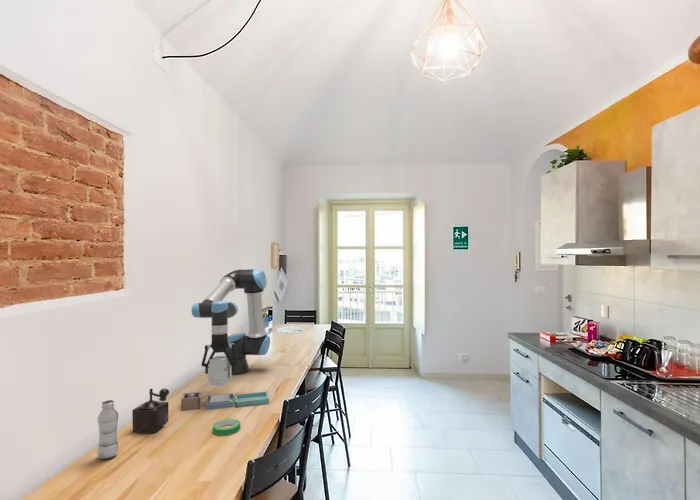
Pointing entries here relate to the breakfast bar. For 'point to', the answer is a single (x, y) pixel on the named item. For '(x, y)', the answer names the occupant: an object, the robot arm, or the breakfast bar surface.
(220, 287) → the robot arm
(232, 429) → the tape roll
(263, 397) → the teal shallow tray
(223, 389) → the breakfast bar surface
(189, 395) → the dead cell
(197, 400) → the brown open box
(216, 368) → the supplement box
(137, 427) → the manual coffee grinder
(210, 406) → the base
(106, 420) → the plastic bottle
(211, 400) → the checker plate
